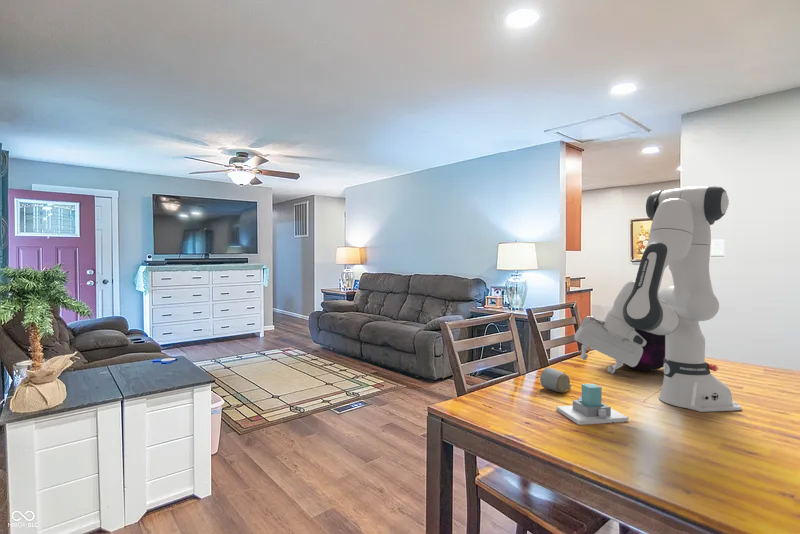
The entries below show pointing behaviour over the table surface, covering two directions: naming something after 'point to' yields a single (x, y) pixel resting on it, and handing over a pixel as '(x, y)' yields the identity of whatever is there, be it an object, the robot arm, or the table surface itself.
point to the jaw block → (591, 395)
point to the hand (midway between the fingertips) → (596, 365)
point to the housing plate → (591, 413)
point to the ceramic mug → (554, 380)
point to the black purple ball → (651, 352)
